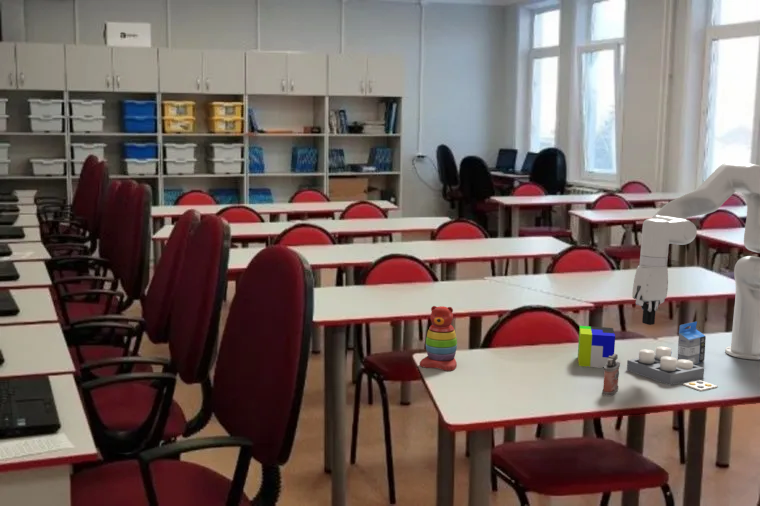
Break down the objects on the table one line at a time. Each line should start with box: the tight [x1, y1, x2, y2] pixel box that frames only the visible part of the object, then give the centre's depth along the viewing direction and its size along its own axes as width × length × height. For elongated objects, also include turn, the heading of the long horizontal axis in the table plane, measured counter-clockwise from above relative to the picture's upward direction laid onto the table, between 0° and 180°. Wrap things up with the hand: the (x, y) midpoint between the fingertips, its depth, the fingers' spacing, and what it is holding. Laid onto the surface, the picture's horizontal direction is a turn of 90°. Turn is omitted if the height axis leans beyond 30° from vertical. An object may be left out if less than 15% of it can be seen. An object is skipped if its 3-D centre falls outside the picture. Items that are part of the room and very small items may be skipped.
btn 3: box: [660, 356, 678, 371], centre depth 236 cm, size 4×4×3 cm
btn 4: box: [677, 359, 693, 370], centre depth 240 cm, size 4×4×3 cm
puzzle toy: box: [577, 325, 616, 368], centre depth 251 cm, size 10×10×10 cm
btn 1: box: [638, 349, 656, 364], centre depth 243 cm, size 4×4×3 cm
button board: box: [626, 357, 705, 386], centre depth 242 cm, size 14×16×3 cm
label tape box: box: [677, 321, 706, 365], centre depth 252 cm, size 9×4×12 cm, turn 126°
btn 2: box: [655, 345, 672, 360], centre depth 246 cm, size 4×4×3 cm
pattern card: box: [682, 379, 719, 392], centre depth 231 cm, size 7×6×1 cm
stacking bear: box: [419, 305, 458, 371], centre depth 246 cm, size 11×10×18 cm
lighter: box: [601, 353, 621, 397], centre depth 225 cm, size 8×3×10 cm, turn 148°
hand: (648, 323), depth 241 cm, fingers closed
